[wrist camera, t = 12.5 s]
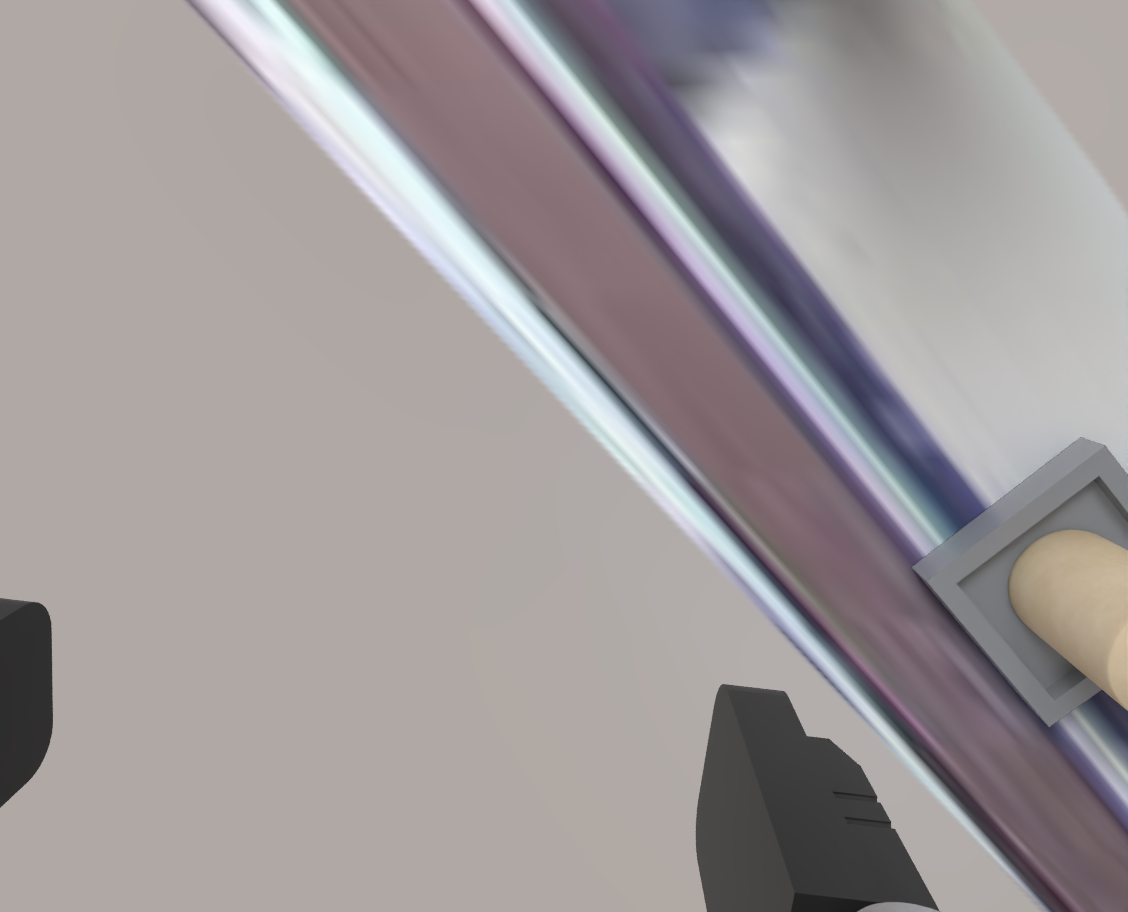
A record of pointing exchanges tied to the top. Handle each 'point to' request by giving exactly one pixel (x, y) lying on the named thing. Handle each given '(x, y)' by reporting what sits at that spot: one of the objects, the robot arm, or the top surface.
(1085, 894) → the top surface
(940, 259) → the top surface
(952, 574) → the holder
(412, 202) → the top surface
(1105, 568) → the candle
